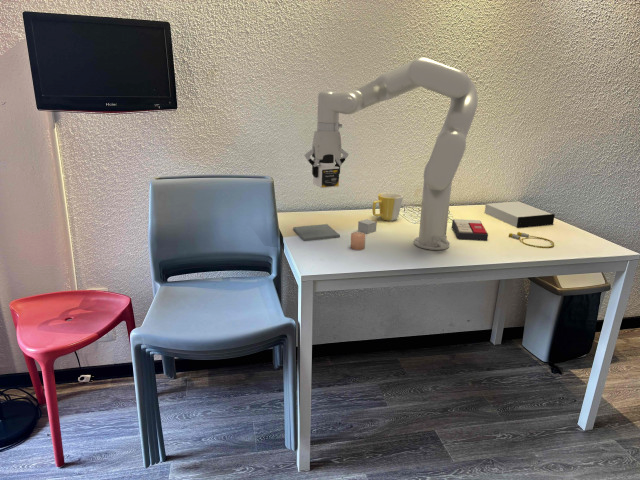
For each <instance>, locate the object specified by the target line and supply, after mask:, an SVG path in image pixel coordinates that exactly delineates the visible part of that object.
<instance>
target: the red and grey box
mask: <svg viewBox="0 0 640 480" xmlns="http://www.w3.org/2000/svg"><path fill="white" fill-rule="evenodd" d="M451 229H452V231H453V233H454V235H455V237H456V239H457V240H461V241H463V240H465V241H483V242H484V241H485V242H487V241H488V240H489V238H488V237H489V233H488V232H487V230H486V228H485V226H484V224H483V223H482V221H481V220H478V219H464V218H463V219H459V218H458V219H457V218H454V219H452V224H451Z"/></svg>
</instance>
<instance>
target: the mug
mask: <svg viewBox="0 0 640 480" xmlns="http://www.w3.org/2000/svg"><path fill="white" fill-rule="evenodd" d="M377 196H378V197H377V198H378V200H374V201H373V202H372V215H373V216H375V217H380V218H381V219H382V220H383V221H386V222H392V221H393V222H394V221H396V220H397V219H398V218H399V216H400V211H401V207H402V203H403V198H404V195H403V194H401V193H399V192H398V193H396V192H385V191H384V192H380V193H378V195H377ZM377 204H378V207H379V213H376V206H377Z"/></svg>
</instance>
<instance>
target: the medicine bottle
mask: <svg viewBox="0 0 640 480" xmlns="http://www.w3.org/2000/svg"><path fill="white" fill-rule="evenodd" d="M335 164H336V162H335V158H334V155H331V154H328V155H324V156H323V159H322V160H320V161H319V163H318V164H317V167H318V177H317V178H315V177H314V176H313V175H312V184H313V185H315V186H316V187H319V188H321V189H327V188H338V187H339V186H340V184H339V183H340V174H339V167H337V166H335Z"/></svg>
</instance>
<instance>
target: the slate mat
mask: <svg viewBox="0 0 640 480" xmlns="http://www.w3.org/2000/svg"><path fill="white" fill-rule="evenodd" d="M292 230H293V231H294V232H295V233H296V234H297V236H299V237H300V238H301V240H303V242H309V241H318V240H319V241H320V240H328V239H338V238H341V235H340V233H338V232H337V231H336V230H335V229H333V227H331V226H330V225H329V224H328V223H325V224H323V223H322V224H313V225H302V226H293V229H292Z"/></svg>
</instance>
